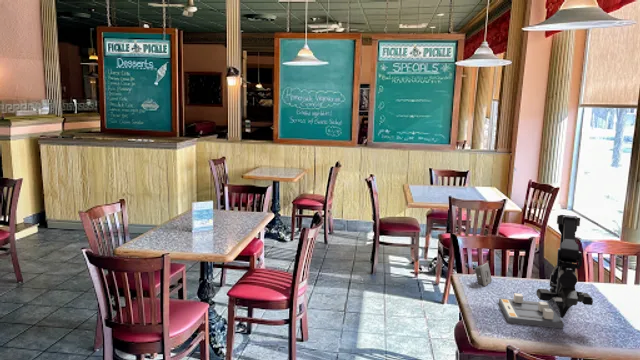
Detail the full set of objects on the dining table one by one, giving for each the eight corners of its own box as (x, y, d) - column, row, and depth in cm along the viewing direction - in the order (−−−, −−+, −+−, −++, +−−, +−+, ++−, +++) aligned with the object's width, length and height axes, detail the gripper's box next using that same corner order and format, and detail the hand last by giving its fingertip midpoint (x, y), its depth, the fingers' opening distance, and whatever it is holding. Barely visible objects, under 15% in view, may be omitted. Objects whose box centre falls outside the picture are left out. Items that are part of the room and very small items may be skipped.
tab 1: (545, 309, 190) (546, 302, 189) (547, 312, 187) (548, 305, 186) (537, 308, 190) (538, 301, 190) (539, 311, 187) (540, 304, 187)
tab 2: (550, 316, 183) (551, 309, 182) (553, 319, 180) (553, 312, 179) (542, 315, 183) (543, 308, 183) (544, 318, 180) (545, 311, 180)
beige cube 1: (520, 300, 198) (521, 293, 197) (522, 303, 195) (523, 296, 194) (513, 299, 198) (514, 293, 198) (515, 302, 195) (515, 295, 195)
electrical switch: (485, 286, 220) (485, 267, 219) (474, 284, 223) (474, 265, 222) (492, 281, 227) (491, 263, 226) (481, 280, 230) (481, 261, 230)
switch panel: (548, 307, 198) (548, 302, 197) (563, 328, 178) (563, 322, 178) (498, 302, 201) (499, 297, 201) (508, 322, 182) (508, 317, 181)
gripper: (546, 284, 172) (541, 323, 174) (601, 289, 169) (596, 329, 171) (537, 274, 183) (534, 311, 185) (589, 278, 180) (584, 317, 182)
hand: (561, 317), depth 181 cm, fingers closed
